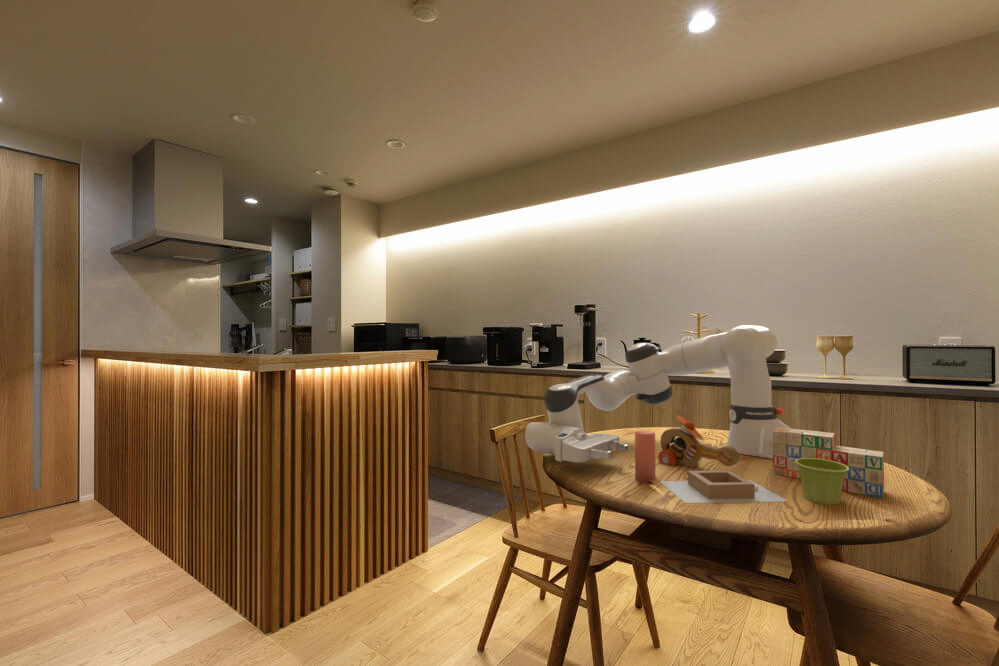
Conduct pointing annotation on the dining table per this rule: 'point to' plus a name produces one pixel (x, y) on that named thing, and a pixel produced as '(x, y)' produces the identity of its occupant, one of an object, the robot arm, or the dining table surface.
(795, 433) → the stack of blocks
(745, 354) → the robot arm
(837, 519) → the dining table surface
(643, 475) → the pink cylinder peg
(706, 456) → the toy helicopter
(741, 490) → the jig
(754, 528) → the dining table surface
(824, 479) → the plant pot
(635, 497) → the dining table surface
